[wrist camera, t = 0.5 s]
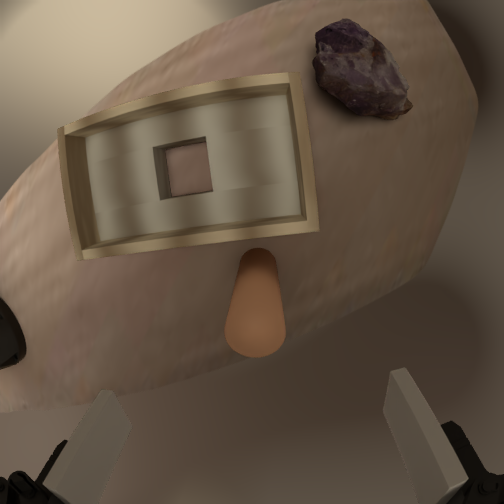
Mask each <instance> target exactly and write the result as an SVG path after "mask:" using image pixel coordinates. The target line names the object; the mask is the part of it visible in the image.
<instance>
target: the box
mask: <svg viewBox="0 0 504 504" xmlns="http://www.w3.org/2000/svg"><path fill="white" fill-rule="evenodd" d="M57 133H58V149H59V160H60V170H61V178H62V186H63V193H64V200H65V206H66V212H67V217H68V222H69V228H70V232H71V237H72V242H73V246H74V250H75V255H76V259H77V261H79V260H86V259H94V258H101V257H108V256H116V255H123V254H131V253H139V252H147V251H154V250H162V249H170V248H178V247H186V246H194V245H202V244H211V243H219V242H227V241H236V240H244V239H253V238H262V237H270V236H279V235H288V234H297V233H306V232H315V231H320V230H319V218H318V206H317V196H316V186H315V176H314V167H313V159H312V151H311V143H310V135H309V128H308V121H307V115H306V108H305V102H304V95H303V89H302V84H301V78H300V72H288V73H275V74H264V75H255V76H247V77H239V78H232V79H225V80H219V81H213V82H208V83H203V84H198V85H193V86H188V87H183V88H179V89H175V90H170V91H166V92H162V93H159V94H155V95H151V96H147V97H144V98H140V99H137V100H134V101H130V102H127V103H124V104H121V105H118V106H115V107H112V108H109V109H106V110H103V111H101V112H98V113H95V114H92V115H90V116H87V117H85V118H82V119H80V120H77V121H75V122H72V123H70V124H68V125H65V126H63V127H61V128H58V129H57ZM201 142H207V149H208V157H209V164H210V172H211V179H212V186H213V191H206V192H200V193H193V194H187V195H181V196H175V197H171V190H170V183H169V176H168V169H167V162H166V154H165V149H170V148H175V147H180V146H185V145H190V144H195V143H201Z"/></svg>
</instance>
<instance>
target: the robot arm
mask: <svg viewBox="0 0 504 504" xmlns="http://www.w3.org/2000/svg"><path fill="white" fill-rule="evenodd" d="M25 353H26V345H25V340H24V336H23V333H22V331H21V328H20V326H19V324H18V322H17V320H16V318H15V316H14V315H13V313H12V312H11V310H10V309H9V307H8V306H7V305H6V304H5V303H4V302H3V300H2V299H0V370H1V369H4V368H7V367H10V366H13V365H16V364H17V363H19V362H20V361H21V360H22V359H23V358H24V356H25ZM383 413H384V415H385V417H386V420H387V422H388V425H389V427H390V430H391V432H392V434H393V437H394V439H395V442H396V444H397V447H398V449H399V452H400V454H401V457H402V459H403V462H404V465H405V467H406V470H407V472H408V475H409V478H410V480H411V483H412V485H413V488H414V491H415V494H416V497H417V500H418V503H419V504H504V474H503V475H496V474H493V473H489V472H488V471H487V470H486V469H485V468H484V466H483V464H482V463H481V461H480V459H479V457H478V456H477V454H476V452H475V450H474V449H473V447H472V445H470V442H469V440H468V438H466V435H465V433H464V432H463V430H462V428H461V427H460V426H459V425H457V424H456V423H454V422H453V421H450V422H447V423H444V424H442V425H440V424H439V422H438V421H437V419H436V417H435V416H434V414H433V412H432V410H431V409H430V407H429V405H428V404H427V402H426V400H425V399H424V397H423V395H422V393H421V392H420V390H419V389H418V387H417V385H416V384H415V382H414V380H413V379H412V377H411V376H410V374H409V373H408V371H407V369H406V368H401V369H398V370H394V371H391V372H390V377H389V383H388V388H387V394H386V399H385V403H384V408H383ZM132 427H133V426H132V424H131V423H130V421H129V419H128V417H127V415H126V414H125V412H124V410H123V408H122V406H121V404H120V402H119V401H118V399H117V397H116V395H115V393H114V391H112V390H103V389H101V391H100V392H99V394H98V395H97V397H96V398H95V400H94V401H93V403H92V404H91V406H90V408H89V409H88V411H87V412H86V414H85V415H84V417H83V418H82V420H81V422H80V423H79V425H78V426H77V428H76V429H75V431H74V432H73V434H72V436H71V437H70V439H69V440H68V441H67V440H64V441H62V442H61V443H60V444H59V445H57V447H56V448H55V450H54V452H53V455H51V456H50V458H49V460H48V461H47V463H46V464H45V466H44V468H43V469H42V471H41V473H40V474H39V476H38V478H37V479H36V481H35V482H34V481H33V480H32V479H31V478H30V477H29V476H28V475H27V474H26V473H25V472H23V471H16V472H13V473H12V474H11V475H10V476H9V478H8V481H7V480H6V479H5V478H3V477H0V504H98V503H99V501H100V499H101V496H102V494H103V492H104V489H105V487H106V485H107V482H108V480H109V478H110V475H111V473H112V471H113V469H114V467H115V464H116V462H117V460H118V458H119V455H120V453H121V451H122V449H123V447H124V445H125V442H126V440H127V438H128V436H129V434H130V431H131V429H132Z"/></svg>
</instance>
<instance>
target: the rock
mask: <svg viewBox="0 0 504 504" xmlns="http://www.w3.org/2000/svg"><path fill="white" fill-rule="evenodd" d="M315 38H316V48H317V51H316V54H317V56H316V57H315V58H314V60H313V62H312V64H313V67H314V69H315V72H316V81H317V83H318V84H319V86H320V87H321V88H323V89H325V91H327V92H328V93H329V94H331V95H333V96H335V97H336V98H337V99H339V100H340V101H342V102H343V103H344V104H345V105H346V106H347V107H348V108H349V109H351V110H352V111H354V112H355V113H356V114H357V115H360V116H367V115H374V116H378V117H381V118H383V119H389V120H394V119H397V118H398V116H399V115H403V114H406V113H407V112H408V111H409V110H410V109H411V108H412V107H413V105H412V103H411V102H410V101H409V100H408V99H407V90H408V89H409V85H408V83H407V80H406V79H405V77H404V76H402V74H401V73H400V72H399V70H398V69H399V68H400V67H399V65H398V64H397V63H396V61H395V60H394V58H393V56H392V54H391V52H390V51H389V50H387V49H386V48H385V46H384V45H383V44H382V43H381V42H380V41H378V40H377V39H376V38H374V37H373V36H372V35H370V34H369V32H368V31H367V30H365V29H363V28H361V27H360V25H359V24H357V23H355V22H353V21H351V20H350V19H342V20H341V21H338V22H335V23H332V24H329V25H328V26H326V27H324V28H322V29H321V30H319V31H318V32H316V33H315Z"/></svg>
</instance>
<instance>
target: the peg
mask: <svg viewBox="0 0 504 504" xmlns="http://www.w3.org/2000/svg"><path fill="white" fill-rule="evenodd" d="M224 334H225V338H226V341H227V343H228V344H229V346H230V347H231V348H232V349H233V350H234V351H236V352H237V353H239V354H241V355H243V356H247V357H254V358H258V357H264V356H267V355H270V354H272V353H274V352H275V351H276V350H278V349H279V347H280V346H281V345H282V344H283V342H284V339H285V336H286V328H285V321H284V314H283V307H282V300H281V293H280V286H279V279H278V273H277V266H276V261H275V258H274V256H273V255H272V254H271V253H270V252H269V251H268V250H266V249H263V248H253V249H250V250H248V251H247V252H246V253H245V254H244V255H243V256H242V258H241V261H240V265H239V269H238V273H237V277H236V282H235V286H234V290H233V294H232V298H231V303H230V307H229V311H228V315H227V320H226V324H225V329H224Z"/></svg>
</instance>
